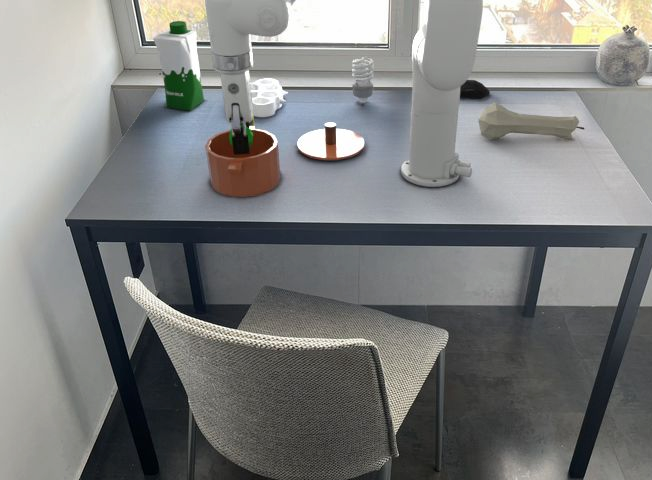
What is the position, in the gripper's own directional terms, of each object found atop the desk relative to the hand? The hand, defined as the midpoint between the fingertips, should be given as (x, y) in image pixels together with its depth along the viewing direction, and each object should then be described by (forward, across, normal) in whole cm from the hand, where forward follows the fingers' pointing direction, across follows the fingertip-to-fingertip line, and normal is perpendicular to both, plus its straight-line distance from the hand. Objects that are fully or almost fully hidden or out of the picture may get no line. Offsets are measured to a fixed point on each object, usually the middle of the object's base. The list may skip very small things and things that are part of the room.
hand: (242, 146), depth 140 cm
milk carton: (+8, +42, +17) cm, 46 cm away
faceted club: (+8, +13, -66) cm, 67 cm away
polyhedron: (+1, 0, 0) cm, 1 cm away
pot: (+8, 0, 0) cm, 8 cm away
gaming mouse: (+8, +42, -56) cm, 70 cm away
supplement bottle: (+8, +23, +1) cm, 24 cm away
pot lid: (+7, +14, -19) cm, 24 cm away
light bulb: (+8, +39, -29) cm, 49 cm away
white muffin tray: (+8, +41, -2) cm, 42 cm away
